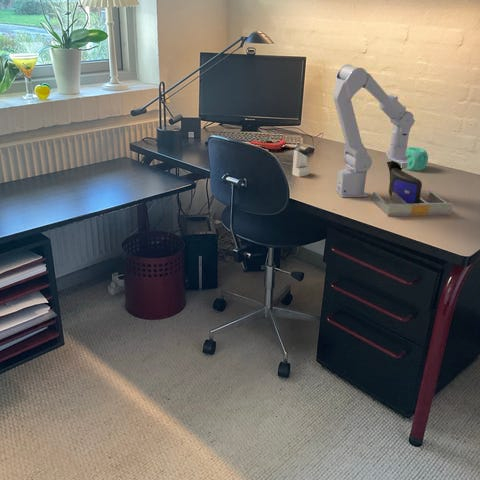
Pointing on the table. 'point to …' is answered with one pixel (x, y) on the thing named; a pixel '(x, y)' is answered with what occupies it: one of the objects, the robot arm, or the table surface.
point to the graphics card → (270, 144)
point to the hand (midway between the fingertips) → (393, 181)
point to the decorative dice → (416, 158)
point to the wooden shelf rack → (413, 206)
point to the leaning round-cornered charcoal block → (405, 186)
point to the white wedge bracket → (300, 164)
